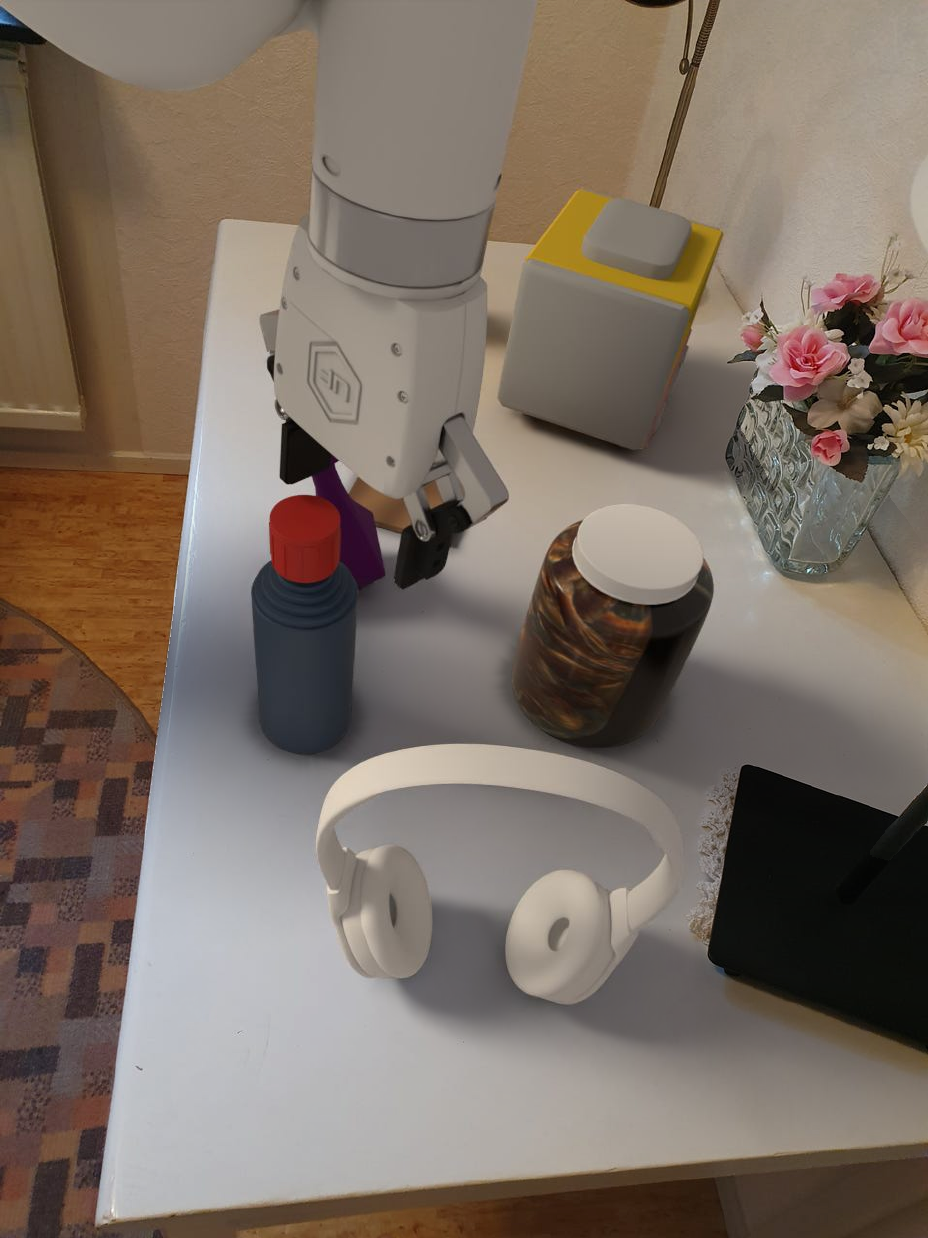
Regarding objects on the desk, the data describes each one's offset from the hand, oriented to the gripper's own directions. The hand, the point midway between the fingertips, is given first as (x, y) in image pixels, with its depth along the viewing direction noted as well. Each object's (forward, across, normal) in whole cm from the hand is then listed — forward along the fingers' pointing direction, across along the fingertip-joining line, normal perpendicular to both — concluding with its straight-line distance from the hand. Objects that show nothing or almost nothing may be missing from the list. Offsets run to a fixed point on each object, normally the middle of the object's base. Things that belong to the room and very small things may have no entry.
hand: (359, 523), depth 51 cm
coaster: (+20, -15, +21) cm, 33 cm away
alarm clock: (+19, -16, +48) cm, 54 cm away
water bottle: (+20, -2, -1) cm, 20 cm away
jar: (+19, +9, +18) cm, 27 cm away
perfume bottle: (+20, -12, +10) cm, 25 cm away
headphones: (+19, +18, -4) cm, 26 cm away
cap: (+4, -2, -2) cm, 5 cm away
